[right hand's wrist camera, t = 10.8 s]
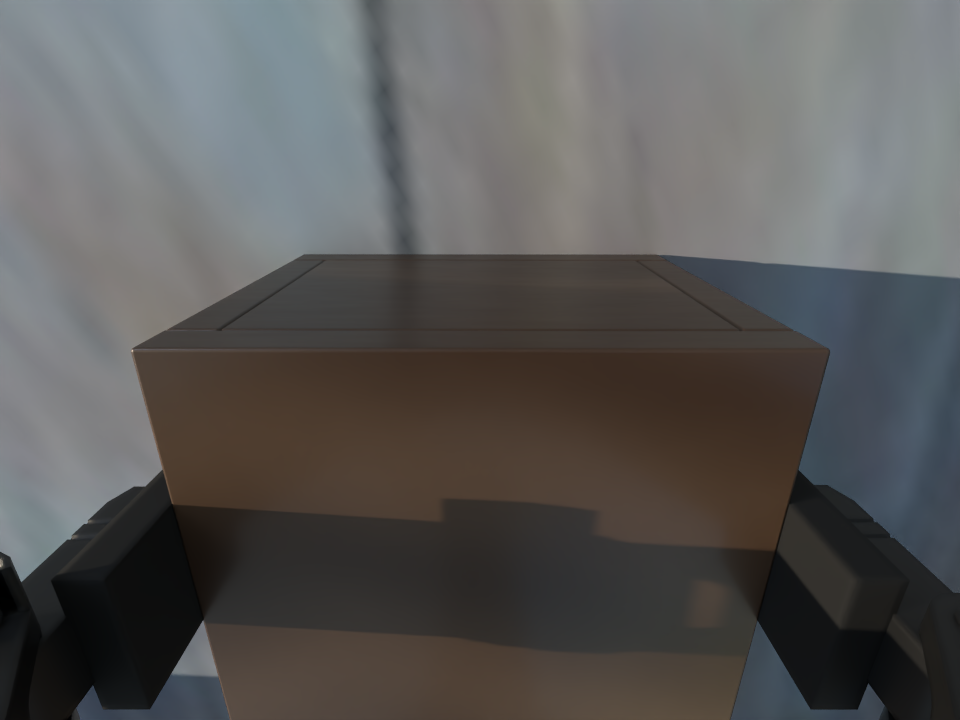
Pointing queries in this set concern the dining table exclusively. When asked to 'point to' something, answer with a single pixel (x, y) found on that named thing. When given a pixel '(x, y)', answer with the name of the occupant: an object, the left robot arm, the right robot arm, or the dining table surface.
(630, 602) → the cabinet
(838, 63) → the dining table surface
